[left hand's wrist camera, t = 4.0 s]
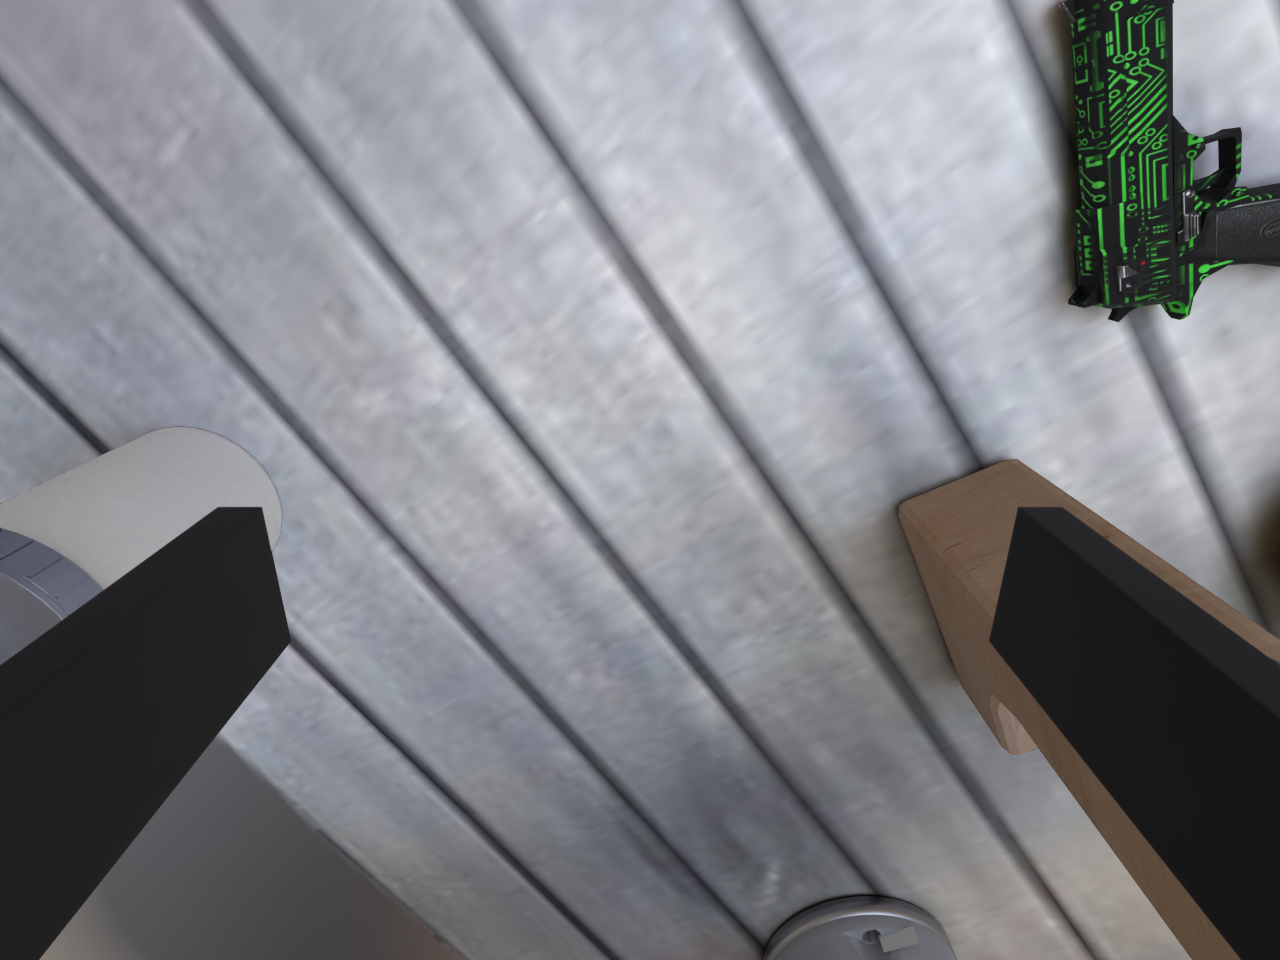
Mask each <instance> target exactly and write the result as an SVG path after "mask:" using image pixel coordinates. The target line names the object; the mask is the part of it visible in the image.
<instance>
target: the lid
mask: <svg viewBox="0 0 1280 960" xmlns="http://www.w3.org/2000/svg"><path fill="white" fill-rule="evenodd" d="M102 591H103V589H102V587H101V586H100V585H99V584H98V583H97V582H96V581H95V580H94V579H92V578H91V577H90V576H89V575H88V574H87V573H86V572H85V571H84V570H82V569H81V568H80V567H78V566H77V565H76V564H75V563H73V562H72V561H71V560H69V559H68V558H66V557H65V556H63V555H61V554H60V553H58V552H57V551H55V550H54V549H52V548H50V547H48V546H46V545H44V544H42V543H40V542H38V541H36V540H34V539H31V538H29V537H26V536H24V535H21V534H19V533H16V532H13V531H9V530H6V529H3V528H0V665H1V664H3V663H4V662H5V661H7V660H8V659H9V658H11V657H12V656H14V655H15V654H16V653H18V652H19V651H20V650H22V649H23V648H25V647H26V646H27V645H29V644H30V643H31V642H33V641H34V640H36V639H37V638H38V637H40V636H41V635H42V634H44V633H45V632H47V631H48V630H49V629H51V628H52V627H53V626H55V625H56V624H58V623H59V622H60V621H62V620H63V619H64V618H66V617H67V616H69V615H70V614H71V613H73V612H74V611H75V610H77V609H78V608H80V607H81V606H82V605H84V604H85V603H86V602H88V601H89V600H91V599H92V598H93V597H95V596H96V595H97V594H99V593H100V592H102Z"/></svg>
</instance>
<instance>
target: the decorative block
mask: <svg viewBox="0 0 1280 960" xmlns="http://www.w3.org/2000/svg"><path fill="white" fill-rule="evenodd" d="M1018 507H1063V508H1064V509H1066V510H1067V511H1068V512H1070V513H1071V514H1073V515H1074V516H1075V517H1077V518H1078V519H1079V520H1081V521H1082V522H1084V523H1085V524H1086V525H1088V526H1089V527H1090V528H1092V529H1093V530H1095V531H1096V532H1097V533H1099V534H1100V535H1101V536H1103V537H1104V538H1106V539H1107V540H1108V541H1110V542H1111V543H1112V544H1114V545H1115V546H1117V547H1118V548H1119V549H1121V550H1122V551H1123V552H1125V553H1126V554H1128V555H1129V556H1130V557H1132V558H1133V559H1134V560H1136V561H1137V562H1139V563H1140V564H1141V565H1143V566H1144V567H1145V568H1147V569H1148V570H1150V571H1151V572H1152V573H1154V574H1155V575H1156V576H1158V577H1159V578H1161V579H1162V580H1163V581H1165V582H1166V583H1167V584H1169V585H1170V586H1172V587H1173V588H1174V589H1176V590H1177V591H1178V592H1180V593H1181V594H1183V595H1184V596H1185V597H1187V598H1188V599H1189V600H1191V601H1192V602H1194V603H1195V604H1196V605H1198V606H1199V607H1200V608H1202V609H1203V610H1205V611H1206V612H1207V613H1209V614H1210V615H1211V616H1213V617H1214V618H1216V619H1217V620H1218V621H1220V622H1221V623H1222V624H1224V625H1225V626H1227V627H1228V628H1229V629H1231V630H1232V631H1233V632H1235V633H1236V634H1238V635H1239V636H1240V637H1242V638H1243V639H1244V640H1246V641H1247V642H1249V643H1250V644H1251V645H1253V646H1254V647H1255V648H1257V649H1258V650H1260V651H1261V652H1262V653H1264V654H1265V655H1266V656H1268V657H1269V658H1273V659H1275V660H1277V661H1279V662H1280V640H1279V639H1278V638H1276V637H1275V636H1273V635H1272V634H1271V633H1269V632H1268V631H1266V630H1265V629H1263V628H1262V627H1260V626H1259V625H1257V624H1256V623H1255V622H1253V621H1252V620H1250V619H1249V618H1247V617H1246V616H1244V615H1243V614H1241V613H1240V612H1239V611H1237V610H1236V609H1234V608H1233V607H1231V606H1230V605H1228V604H1227V603H1225V602H1224V601H1223V600H1221V599H1220V598H1218V597H1217V596H1215V595H1214V594H1212V593H1211V592H1209V591H1208V590H1207V589H1205V588H1204V587H1202V586H1201V585H1199V584H1198V583H1196V582H1195V581H1193V580H1192V579H1191V578H1189V577H1188V576H1186V575H1185V574H1183V573H1182V572H1180V571H1179V570H1177V569H1176V568H1175V567H1173V566H1172V565H1170V564H1169V563H1167V562H1166V561H1164V560H1163V559H1161V558H1160V557H1159V556H1157V555H1156V554H1154V553H1153V552H1151V551H1150V550H1148V549H1147V548H1145V547H1144V546H1143V545H1141V544H1140V543H1138V542H1137V541H1135V540H1134V539H1132V538H1131V537H1129V536H1128V535H1127V534H1125V533H1124V532H1122V531H1121V530H1119V529H1118V528H1116V527H1115V526H1113V525H1112V524H1111V523H1109V522H1108V521H1106V520H1105V519H1103V518H1102V517H1100V516H1099V515H1097V514H1096V513H1095V512H1093V511H1092V510H1090V509H1089V508H1087V507H1086V506H1084V505H1083V504H1081V503H1080V502H1079V501H1077V500H1076V499H1074V498H1073V497H1071V496H1070V495H1068V494H1067V493H1065V492H1064V491H1063V490H1061V489H1060V488H1058V487H1057V486H1055V485H1054V484H1052V483H1051V482H1049V481H1048V480H1047V479H1045V478H1044V477H1042V476H1041V475H1039V474H1038V473H1036V472H1035V471H1033V470H1032V469H1031V468H1029V467H1028V466H1026V465H1025V464H1023V463H1022V462H1020V461H1019V460H1016V459H1011V460H1004V461H1002V462H999V463H997V464H995V465H992V466H990V467H987V468H985V469H982V470H980V471H977V472H975V473H973V474H970V475H968V476H965V477H963V478H960V479H958V480H955V481H953V482H951V483H948V484H946V485H943V486H941V487H938V488H936V489H933V490H931V491H929V492H926V493H924V494H921V495H919V496H916V497H914V498H911V499H909V500H906V501H904V502H903V503H902V504H900V505H899V515H898V516H899V519H900V522H901V524H902V527H903V530H904V533H905V535H906V538H907V541H908V543H909V546H910V549H911V551H912V554H913V557H914V559H915V562H916V565H917V568H918V570H919V573H920V576H921V578H922V581H923V584H924V586H925V589H926V592H927V594H928V597H929V600H930V603H931V605H932V608H933V611H934V613H935V616H936V619H937V621H938V624H939V627H940V629H941V632H942V635H943V637H944V640H945V643H946V645H947V648H948V651H949V653H950V656H951V659H952V661H953V664H954V667H955V670H956V672H957V675H958V678H959V680H960V683H961V686H962V687H963V689H964V690H965V692H966V693H967V695H968V696H969V698H970V699H971V701H972V702H973V704H974V705H975V707H976V708H977V710H978V711H979V713H980V714H981V716H982V718H983V719H984V721H985V722H986V724H987V725H988V727H989V728H990V730H991V731H992V733H993V734H994V736H995V737H996V739H997V740H998V742H999V743H1000V745H1001V746H1002V748H1004V749H1005V750H1006V751H1008V752H1009V753H1010V754H1011V755H1020V754H1023V753H1026V752H1029V751H1032V750H1035V749H1038V748H1039V750H1040V751H1041V752H1042V754H1043V755H1044V756H1045V758H1046V759H1047V761H1048V762H1049V763H1050V765H1051V766H1052V767H1053V769H1054V770H1055V772H1056V773H1057V774H1058V776H1059V777H1060V779H1061V780H1062V781H1063V783H1064V784H1065V785H1066V787H1067V788H1068V790H1069V791H1070V792H1071V794H1072V795H1073V796H1074V798H1075V799H1076V801H1077V802H1078V803H1079V805H1080V806H1081V807H1082V809H1083V810H1084V812H1085V813H1086V814H1087V816H1088V817H1089V818H1090V820H1091V821H1092V823H1093V824H1094V825H1095V827H1096V828H1097V829H1098V831H1099V832H1100V834H1101V835H1102V836H1103V838H1104V839H1105V840H1106V842H1107V843H1108V845H1109V846H1110V847H1111V849H1112V850H1113V851H1114V853H1115V854H1116V856H1117V857H1118V858H1119V860H1120V861H1121V862H1122V864H1123V865H1124V867H1125V868H1126V869H1127V871H1128V872H1129V873H1130V875H1131V876H1132V878H1133V879H1134V880H1135V882H1136V883H1137V884H1138V886H1139V887H1140V889H1141V890H1142V891H1143V893H1144V894H1145V895H1146V897H1147V898H1148V900H1149V901H1150V902H1151V904H1152V905H1153V906H1154V908H1155V909H1156V911H1157V912H1158V913H1159V915H1160V916H1161V917H1162V919H1163V920H1164V922H1165V923H1166V924H1167V926H1168V927H1169V928H1170V930H1171V931H1172V933H1173V934H1174V935H1175V937H1176V938H1177V939H1178V941H1179V942H1180V944H1181V945H1182V946H1183V948H1184V949H1185V950H1186V952H1187V953H1188V955H1189V956H1190V957H1191V959H1192V960H1241V959H1240V958H1239V957H1238V955H1237V954H1236V953H1235V952H1234V950H1233V949H1232V948H1231V946H1230V945H1229V944H1228V943H1227V941H1226V940H1225V939H1224V938H1223V936H1222V935H1221V934H1220V933H1219V931H1218V930H1217V929H1216V928H1215V926H1214V925H1213V924H1212V922H1211V921H1210V920H1209V919H1208V917H1207V916H1206V915H1205V914H1204V912H1203V911H1202V910H1201V909H1200V907H1199V906H1198V905H1197V904H1196V902H1195V901H1194V900H1193V898H1192V897H1191V896H1190V895H1189V893H1188V892H1187V891H1186V890H1185V888H1184V887H1183V886H1182V885H1181V883H1180V882H1179V881H1178V879H1177V878H1176V877H1175V876H1174V874H1173V873H1172V872H1171V871H1170V869H1169V868H1168V867H1167V866H1166V864H1165V863H1164V862H1163V861H1162V859H1161V858H1160V857H1159V855H1158V854H1157V853H1156V852H1155V850H1154V849H1153V848H1152V847H1151V845H1150V844H1149V843H1148V842H1147V840H1146V839H1145V838H1144V837H1143V835H1142V834H1141V833H1140V831H1139V830H1138V829H1137V828H1136V826H1135V825H1134V824H1133V823H1132V821H1131V820H1130V819H1129V818H1128V816H1127V815H1126V814H1125V812H1124V811H1123V810H1122V809H1121V807H1120V806H1119V805H1118V804H1117V802H1116V801H1115V800H1114V799H1113V797H1112V796H1111V795H1110V794H1109V792H1108V791H1107V790H1106V788H1105V787H1104V786H1103V785H1102V783H1101V782H1100V781H1099V780H1098V778H1097V777H1096V776H1095V775H1094V773H1093V772H1092V771H1091V769H1090V768H1089V767H1088V766H1087V764H1086V763H1085V762H1084V761H1083V759H1082V758H1081V757H1080V756H1079V754H1078V753H1077V752H1076V751H1075V749H1074V748H1073V747H1072V745H1071V744H1070V743H1069V742H1068V740H1067V739H1066V738H1065V737H1064V735H1063V734H1062V733H1061V732H1060V730H1059V729H1058V728H1057V727H1056V725H1055V724H1054V723H1053V721H1052V720H1051V719H1050V718H1049V716H1048V715H1047V714H1046V713H1045V711H1044V710H1043V709H1042V708H1041V706H1040V705H1039V704H1038V702H1037V701H1036V700H1035V699H1034V697H1033V696H1032V695H1031V694H1030V692H1029V691H1028V690H1027V689H1026V687H1025V686H1024V685H1023V684H1022V682H1021V681H1020V680H1019V678H1018V677H1017V676H1016V675H1015V673H1014V672H1013V671H1012V670H1011V668H1010V667H1009V666H1008V665H1007V663H1006V662H1005V661H1004V660H1003V658H1002V657H1001V656H1000V654H999V653H998V652H997V651H996V649H995V648H994V647H993V646H992V644H991V643H990V642H989V638H990V634H991V629H992V625H993V620H994V615H995V611H996V606H997V601H998V597H999V592H1000V588H1001V583H1002V578H1003V574H1004V569H1005V565H1006V560H1007V555H1008V551H1009V546H1010V542H1011V537H1012V532H1013V528H1014V523H1015V518H1016V514H1017V509H1018Z"/></svg>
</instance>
